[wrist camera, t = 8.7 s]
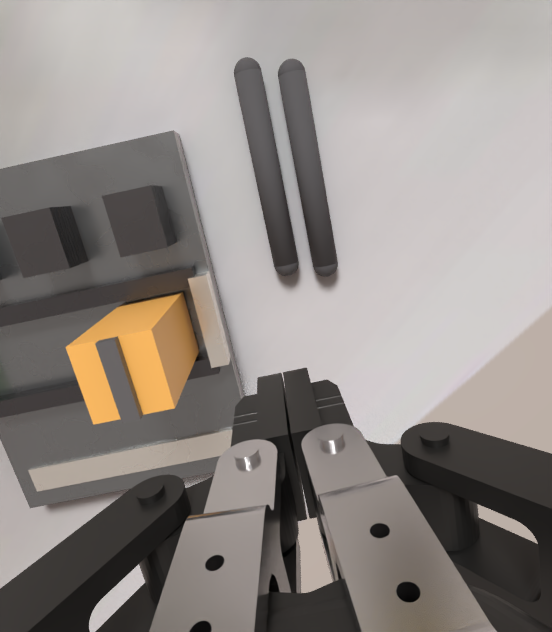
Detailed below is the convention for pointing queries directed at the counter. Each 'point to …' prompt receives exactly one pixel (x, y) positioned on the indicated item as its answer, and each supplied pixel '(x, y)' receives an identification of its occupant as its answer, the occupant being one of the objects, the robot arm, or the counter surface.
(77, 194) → the panel
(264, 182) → the pair of grey rods
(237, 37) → the counter surface
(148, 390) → the toggle
